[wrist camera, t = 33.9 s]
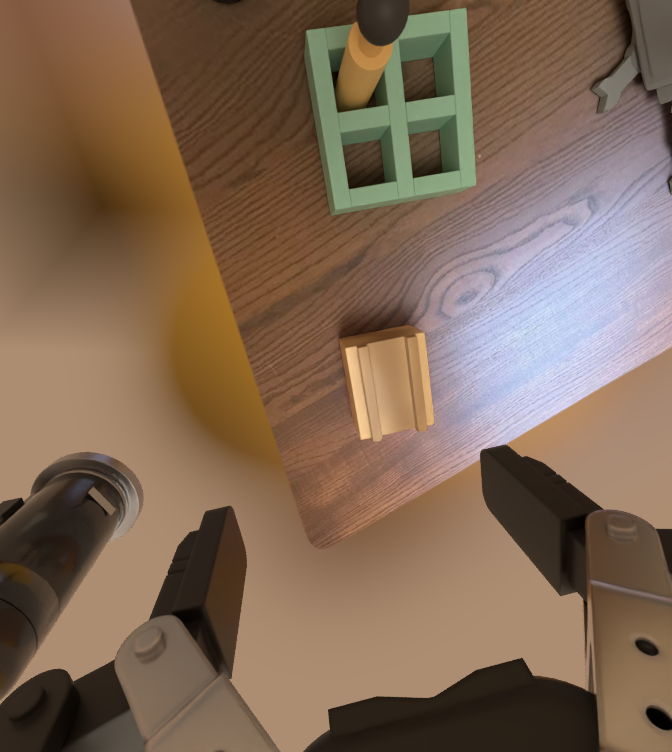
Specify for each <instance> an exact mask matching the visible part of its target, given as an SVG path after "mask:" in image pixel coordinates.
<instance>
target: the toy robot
mask: <svg viewBox="0 0 672 752" xmlns="http://www.w3.org/2000/svg"><path fill="white" fill-rule="evenodd" d="M626 7H627V10H628V11H629V13H630V17H631V22H632V27H633V32H632V39H631V44H630V45H629V47H628V48H627V50H626V53H625V56H624V60H623V61H622V62H621V63H620V64H619V66H618V67H617V68H616V69H615V70H614V71H613V72H612V73H611V75H610V76H609V77H608V78H606V79H604V80H601V81H599V82H597V83H596V84H595V85H594V86H593V88H592V89H591V90H592V91H593V92H594V93H596V94H597V95H598V96H599V97H600V102H599V106H598V111H597V113H603V112H606V111H608V110H610V109H612V108H613V107H614V106H615V105H616V104H617V102H618V101H619V98H620V95H621V91H622V90H623V89H624V88H625V87H626V86H627V85H628V84H629V83H630V81H631V80H632V79H633V78H634V77H635V76H636V75H637V74H638V73H640V72H641V73H642V78H643V83H644V87H645V89H646V90H654V89H657V95H658V100H659V103H660V104H664V103H667V102H670V101H672V0H626ZM671 111H672V108H671ZM669 183H670V188H671V194H672V179H671V180H670V181H669Z"/></svg>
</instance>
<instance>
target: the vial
mask: <svg viewBox="0 0 672 752" xmlns="http://www.w3.org/2000/svg"><path fill="white" fill-rule="evenodd" d="M356 14H357V21H356V22H355V23H354V25H353V26H352V28H351V30H350V33H349V37H348V40H347V44H346V48H345V52H344V56H343V59H342V63H341V67H340V71H339V74H338V78H337V82H336V86H335V90H334V94H335V101H336V108H337V110H338V111H339V112H347V111H353V110H359V109H365V108H366V106H367V104H368V102H369V99H370V97H371V95H372V93H373V91H374V89H375V87H376V85H377V83H378V81H379V79H380V77H381V75H382V73H383V71H384V69H385V67H386V65H387V63H388V61H389V59H390V56H391V54H392V49H393V42H394V41H395V40H396V39H397V38H398V37H399V36H400V35H401V33H402V32H403V30H404V28H405V26H406V23H407V20H408V15H409V0H358V3H357V12H356Z"/></svg>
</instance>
